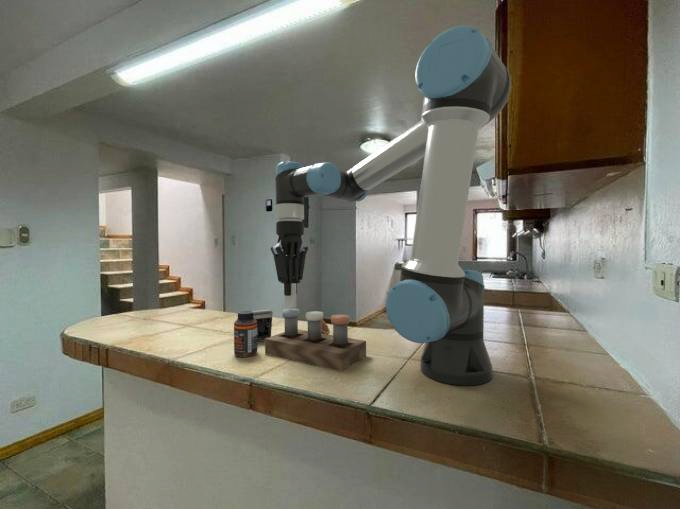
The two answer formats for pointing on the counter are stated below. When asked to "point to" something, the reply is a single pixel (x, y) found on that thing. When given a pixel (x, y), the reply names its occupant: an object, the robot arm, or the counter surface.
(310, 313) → the key white
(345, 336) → the key red
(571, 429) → the counter surface
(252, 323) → the supplement bottle
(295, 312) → the grey cylindrical piece
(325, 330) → the fruit slice
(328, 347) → the wooden peg holder
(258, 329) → the electrical switch
